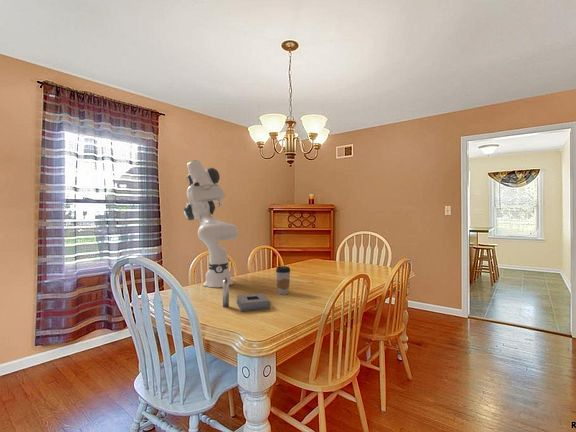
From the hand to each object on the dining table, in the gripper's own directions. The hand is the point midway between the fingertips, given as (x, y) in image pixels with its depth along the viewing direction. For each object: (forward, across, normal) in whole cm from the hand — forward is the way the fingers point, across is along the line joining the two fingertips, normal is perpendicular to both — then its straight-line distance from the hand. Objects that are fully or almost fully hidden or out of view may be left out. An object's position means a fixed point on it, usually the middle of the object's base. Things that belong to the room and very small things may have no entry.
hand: (212, 207), depth 171 cm
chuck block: (+58, +4, +3) cm, 58 cm away
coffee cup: (+59, -23, -4) cm, 63 cm away
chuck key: (+52, +14, -5) cm, 54 cm away
